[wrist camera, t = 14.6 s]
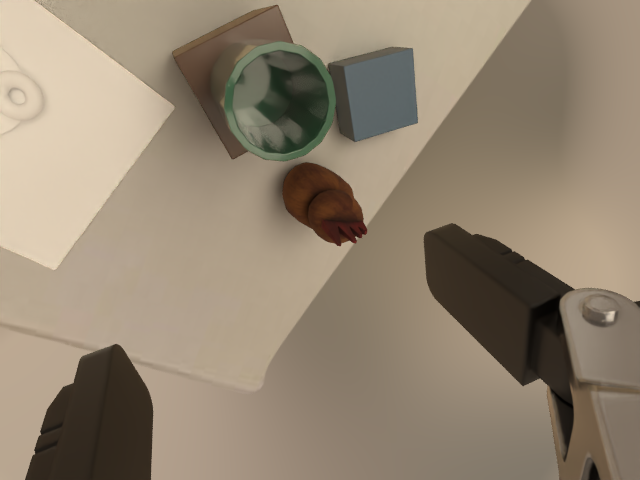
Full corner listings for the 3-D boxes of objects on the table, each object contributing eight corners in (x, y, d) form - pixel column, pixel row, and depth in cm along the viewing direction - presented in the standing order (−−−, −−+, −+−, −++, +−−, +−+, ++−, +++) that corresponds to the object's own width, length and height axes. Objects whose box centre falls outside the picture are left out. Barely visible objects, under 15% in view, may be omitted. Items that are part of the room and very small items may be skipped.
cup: (197, 51, 27) (208, 58, 20) (284, 29, 29) (324, 29, 21) (225, 140, 31) (244, 174, 23) (303, 118, 32) (343, 143, 25)
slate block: (328, 63, 39) (343, 66, 36) (392, 46, 41) (413, 47, 37) (340, 133, 43) (355, 142, 39) (399, 116, 44) (418, 123, 41)
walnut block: (171, 51, 35) (173, 57, 27) (253, 9, 35) (277, 4, 28) (219, 134, 39) (232, 160, 31) (292, 96, 40) (321, 112, 32)
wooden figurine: (266, 194, 43) (307, 262, 31) (291, 146, 42) (346, 196, 29) (317, 217, 46) (374, 287, 34) (342, 173, 45) (412, 228, 32)
